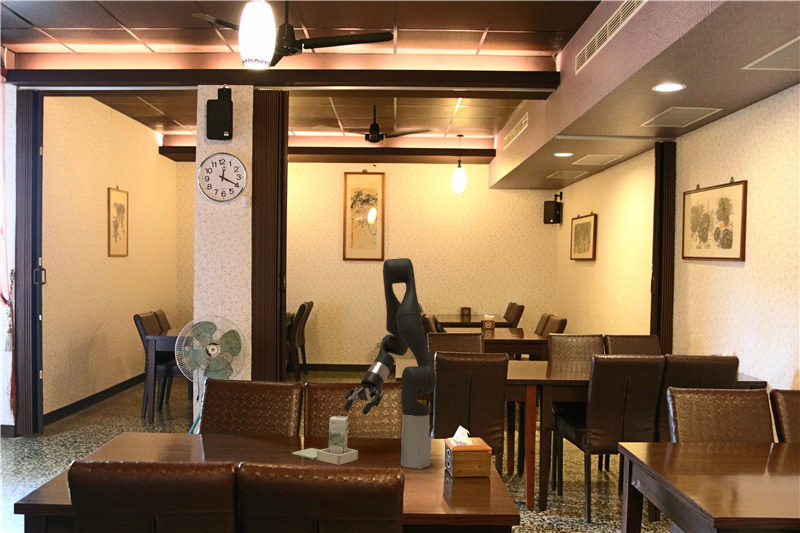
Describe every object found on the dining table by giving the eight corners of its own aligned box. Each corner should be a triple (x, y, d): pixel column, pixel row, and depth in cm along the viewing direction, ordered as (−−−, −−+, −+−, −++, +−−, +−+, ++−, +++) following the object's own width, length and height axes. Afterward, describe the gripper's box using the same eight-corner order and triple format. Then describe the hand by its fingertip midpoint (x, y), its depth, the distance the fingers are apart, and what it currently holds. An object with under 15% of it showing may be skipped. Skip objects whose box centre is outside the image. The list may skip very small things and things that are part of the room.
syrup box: (347, 458, 214) (348, 416, 215) (343, 462, 208) (345, 419, 209) (331, 457, 214) (332, 415, 215) (327, 461, 209) (329, 418, 209)
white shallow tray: (360, 458, 214) (361, 449, 214) (335, 465, 203) (336, 456, 203) (314, 448, 226) (314, 440, 227) (288, 454, 216) (289, 446, 216)
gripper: (356, 368, 231) (335, 402, 221) (386, 372, 223) (365, 407, 213) (364, 381, 235) (344, 415, 225) (394, 385, 227) (374, 421, 217)
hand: (354, 411), depth 219 cm, fingers open, 8 cm apart
